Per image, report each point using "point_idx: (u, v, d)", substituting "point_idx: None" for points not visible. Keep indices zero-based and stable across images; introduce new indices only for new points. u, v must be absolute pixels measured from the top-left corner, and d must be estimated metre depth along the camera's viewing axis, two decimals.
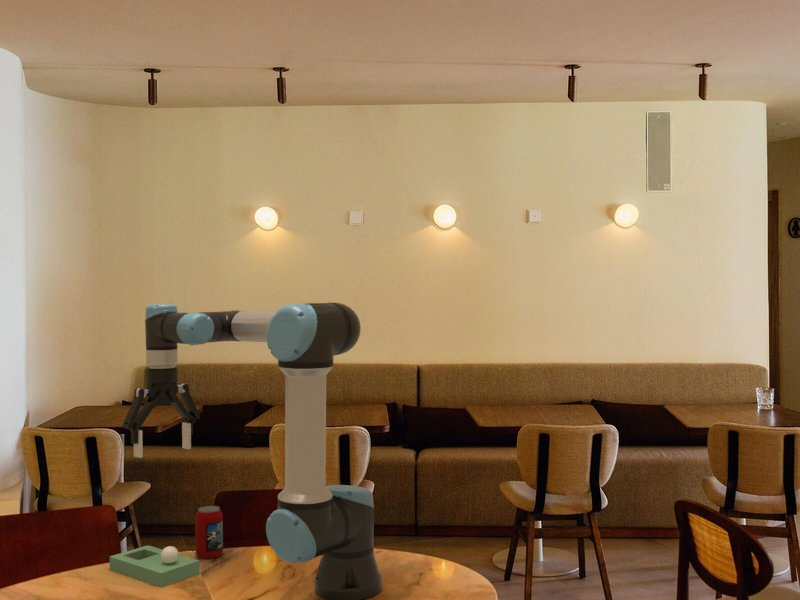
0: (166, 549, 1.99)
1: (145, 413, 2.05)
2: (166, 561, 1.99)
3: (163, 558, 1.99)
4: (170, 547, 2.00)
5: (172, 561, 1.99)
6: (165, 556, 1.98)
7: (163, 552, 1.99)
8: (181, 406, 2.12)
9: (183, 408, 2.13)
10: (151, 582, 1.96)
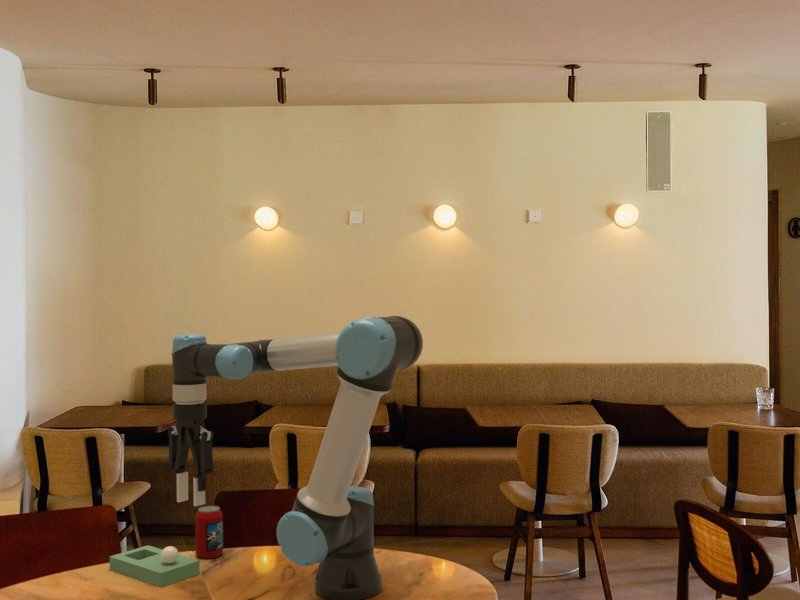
0: (166, 549, 1.99)
1: (177, 453, 1.96)
2: (166, 561, 1.99)
3: (163, 558, 1.99)
4: (170, 547, 2.00)
5: (172, 561, 1.99)
6: (165, 556, 1.98)
7: (163, 552, 1.99)
8: (194, 453, 1.92)
9: (194, 456, 1.92)
10: (151, 582, 1.96)
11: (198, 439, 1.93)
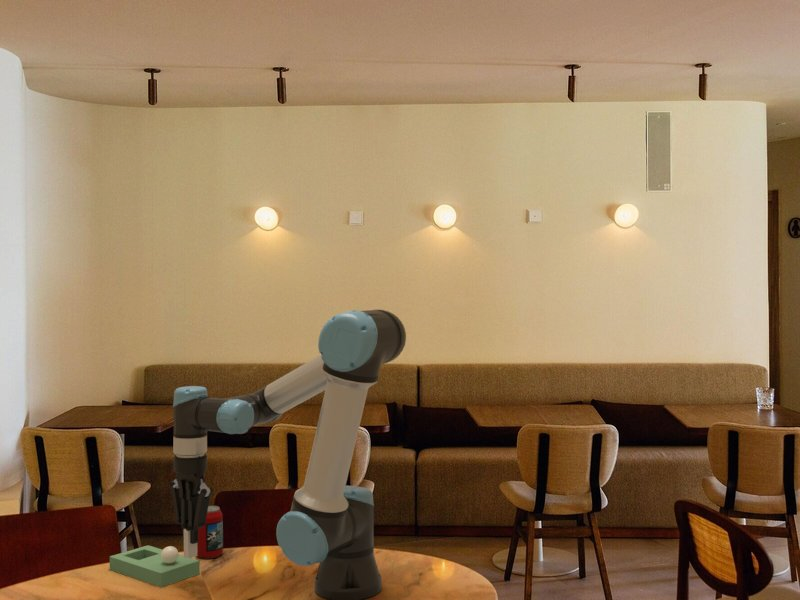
0: (166, 549, 1.99)
1: (181, 508, 1.95)
2: (166, 561, 1.99)
3: (163, 558, 1.99)
4: (170, 547, 2.00)
5: (172, 561, 1.99)
6: (165, 556, 1.98)
7: (163, 552, 1.99)
8: (190, 506, 1.93)
9: (190, 509, 1.93)
10: (151, 582, 1.96)
11: None
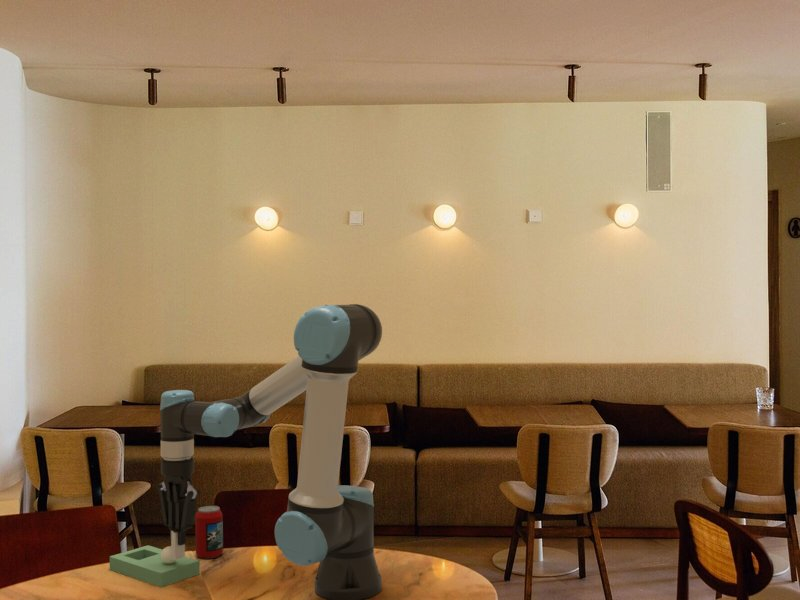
0: (166, 549, 1.99)
1: (169, 510, 1.98)
2: (166, 561, 1.99)
3: (163, 558, 1.99)
4: (170, 547, 2.00)
5: (172, 561, 1.99)
6: (165, 556, 1.98)
7: (163, 552, 1.99)
8: (177, 508, 1.96)
9: (177, 511, 1.96)
10: (151, 582, 1.96)
11: None
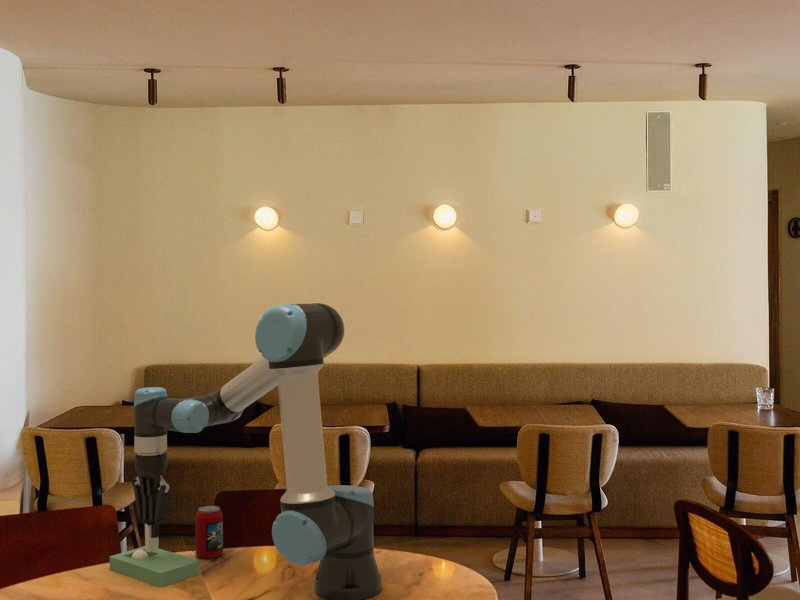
0: (136, 553, 2.06)
1: (143, 504, 2.04)
2: None
3: None
4: (140, 551, 2.07)
5: None
6: None
7: (133, 555, 2.06)
8: (151, 502, 2.02)
9: (151, 505, 2.02)
10: (151, 582, 1.96)
11: None
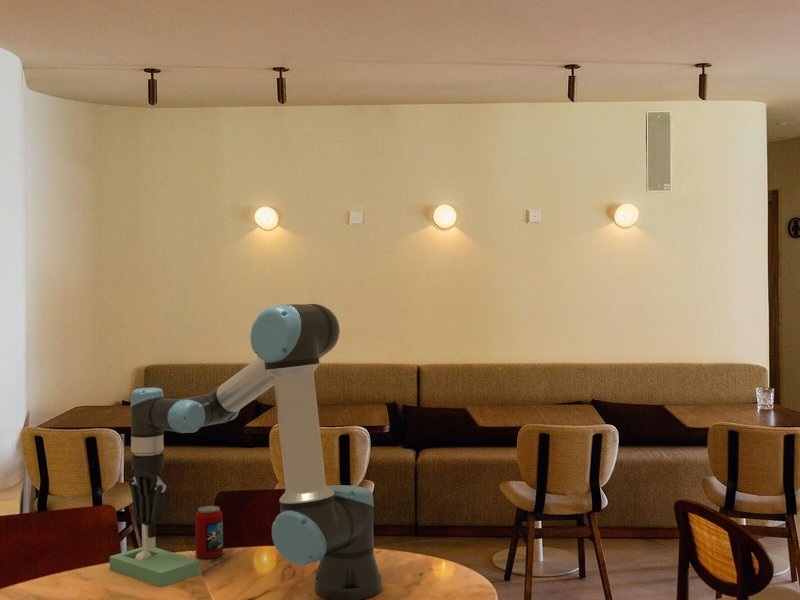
0: (143, 558, 2.05)
1: (140, 504, 2.05)
2: None
3: None
4: None
5: None
6: None
7: (139, 558, 2.05)
8: (147, 502, 2.03)
9: (147, 505, 2.03)
10: (151, 582, 1.96)
11: None
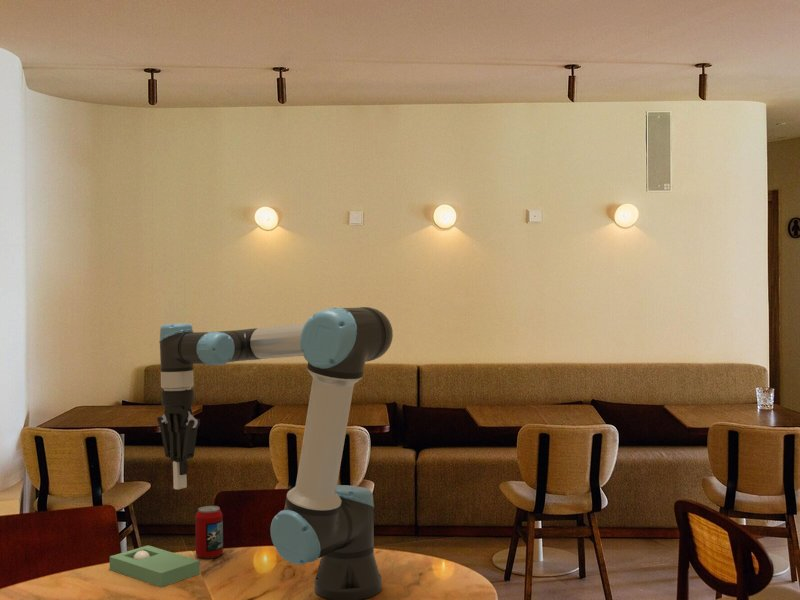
0: (140, 555, 2.05)
1: (170, 441, 2.02)
2: None
3: None
4: (144, 554, 2.06)
5: None
6: None
7: (136, 557, 2.05)
8: (178, 438, 2.00)
9: (179, 441, 2.00)
10: (151, 582, 1.96)
11: None
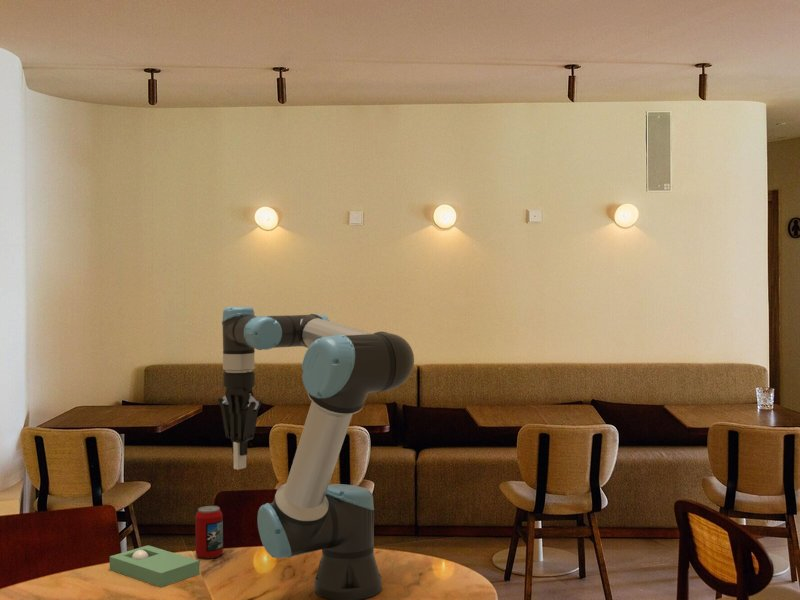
0: (137, 553, 2.06)
1: (231, 422, 2.05)
2: None
3: None
4: (141, 552, 2.07)
5: None
6: None
7: (134, 556, 2.06)
8: (239, 419, 2.04)
9: (239, 422, 2.03)
10: (151, 582, 1.96)
11: None
